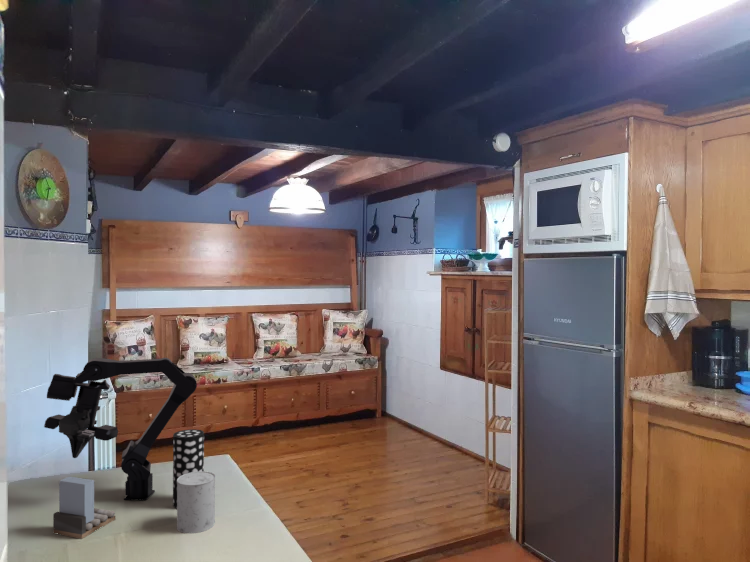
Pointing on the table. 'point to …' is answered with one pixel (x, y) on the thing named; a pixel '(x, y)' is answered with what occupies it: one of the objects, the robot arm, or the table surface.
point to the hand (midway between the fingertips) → (74, 457)
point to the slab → (77, 497)
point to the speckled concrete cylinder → (195, 502)
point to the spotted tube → (187, 455)
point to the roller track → (80, 523)
